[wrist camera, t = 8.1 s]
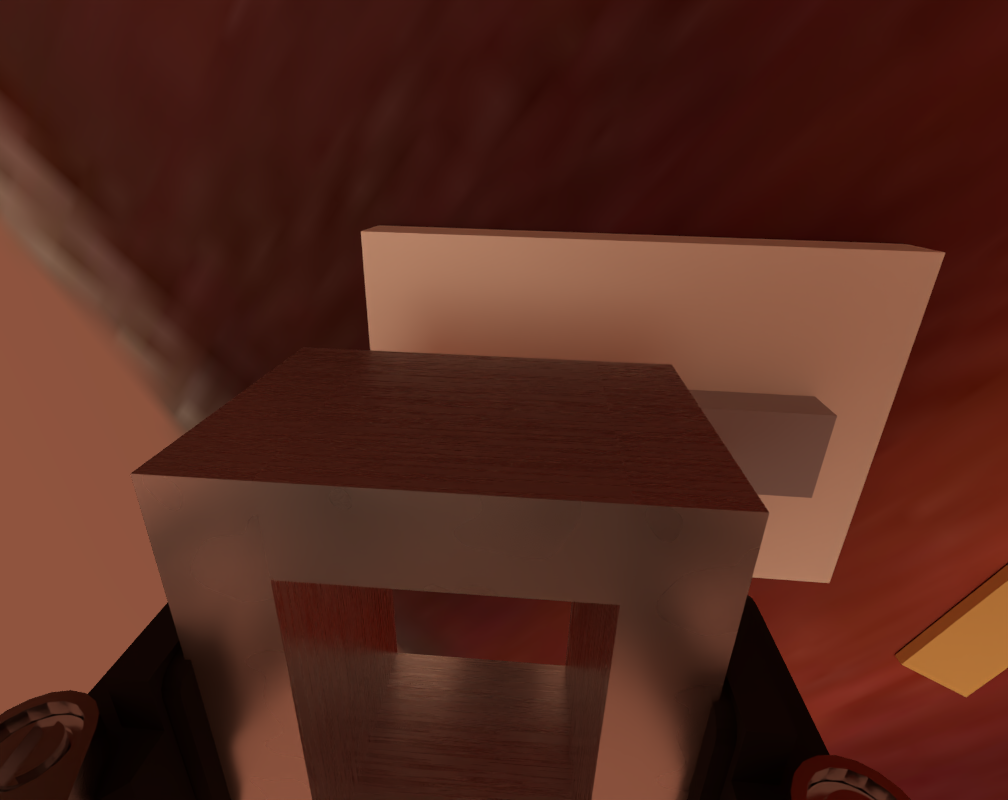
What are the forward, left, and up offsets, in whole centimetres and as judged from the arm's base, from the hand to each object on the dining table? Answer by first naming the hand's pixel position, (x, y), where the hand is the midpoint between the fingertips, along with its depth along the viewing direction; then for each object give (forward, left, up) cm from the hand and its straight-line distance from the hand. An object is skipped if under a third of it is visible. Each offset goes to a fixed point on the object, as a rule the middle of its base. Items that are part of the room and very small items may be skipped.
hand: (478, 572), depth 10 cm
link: (0, 0, -1) cm, 1 cm away
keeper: (-3, 0, -8) cm, 8 cm away
